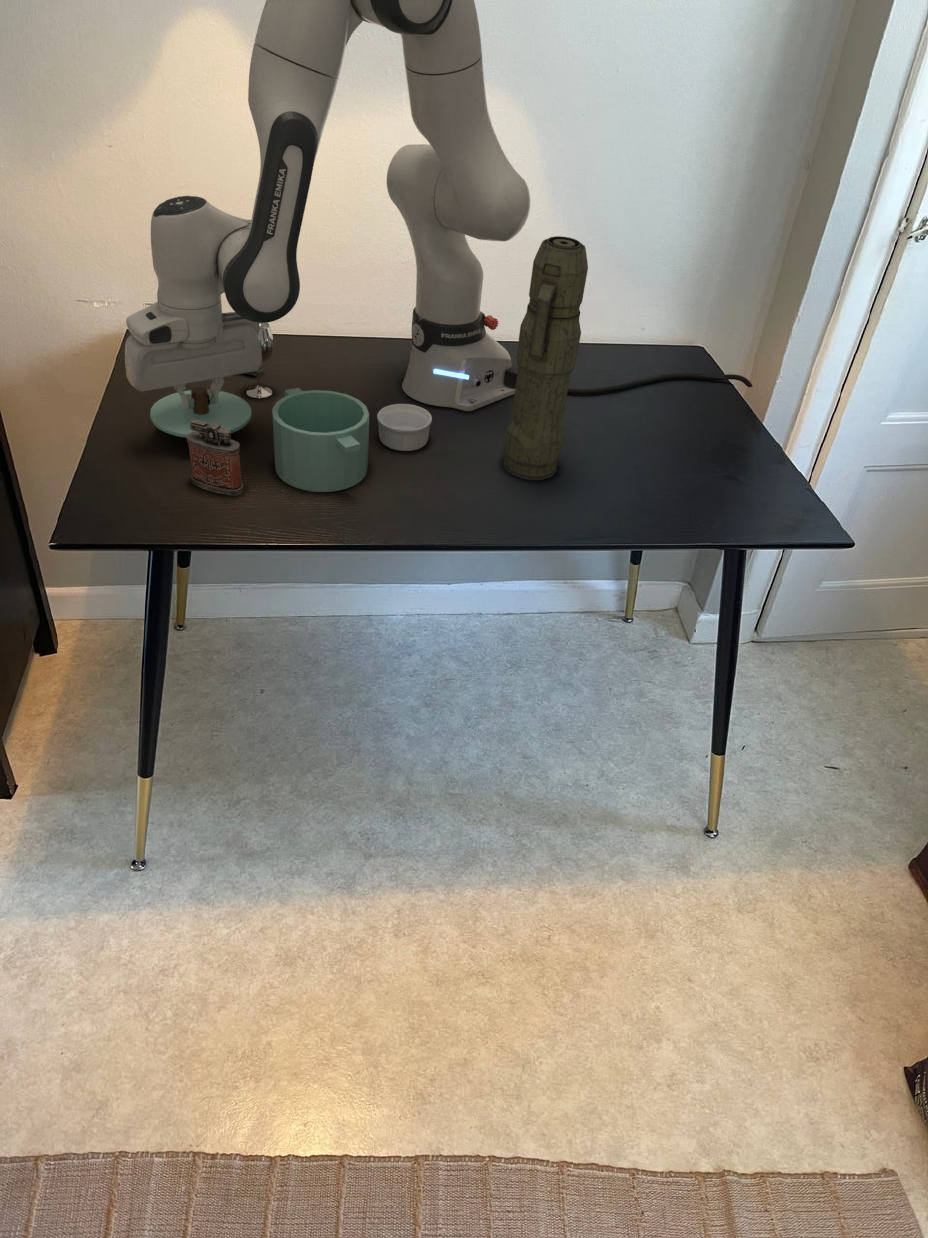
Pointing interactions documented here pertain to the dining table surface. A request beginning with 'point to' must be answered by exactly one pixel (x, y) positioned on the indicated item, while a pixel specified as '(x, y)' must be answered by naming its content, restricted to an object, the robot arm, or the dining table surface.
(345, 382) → the dining table surface
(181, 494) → the dining table surface
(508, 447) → the thermos
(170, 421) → the lid
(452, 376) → the robot arm
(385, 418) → the ramekin
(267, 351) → the wineglass
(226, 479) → the lighter
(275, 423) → the pot
